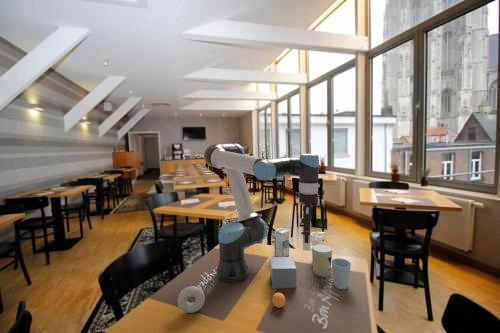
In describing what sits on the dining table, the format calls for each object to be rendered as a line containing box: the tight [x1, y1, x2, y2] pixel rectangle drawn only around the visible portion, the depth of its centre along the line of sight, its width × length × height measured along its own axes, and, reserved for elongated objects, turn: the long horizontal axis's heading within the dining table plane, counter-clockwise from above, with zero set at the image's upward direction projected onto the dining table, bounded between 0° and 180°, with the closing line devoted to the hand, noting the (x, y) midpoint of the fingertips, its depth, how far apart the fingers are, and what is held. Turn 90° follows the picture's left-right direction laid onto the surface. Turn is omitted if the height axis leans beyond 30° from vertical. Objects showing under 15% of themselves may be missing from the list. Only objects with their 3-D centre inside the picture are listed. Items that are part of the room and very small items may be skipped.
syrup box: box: [274, 227, 290, 257], centre depth 132 cm, size 6×6×14 cm
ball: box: [271, 292, 286, 308], centre depth 92 cm, size 5×5×5 cm
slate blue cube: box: [270, 256, 297, 289], centre depth 108 cm, size 10×10×9 cm
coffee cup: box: [311, 243, 333, 277], centre depth 115 cm, size 9×9×12 cm
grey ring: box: [176, 285, 206, 314], centre depth 90 cm, size 10×4×10 cm, turn 100°
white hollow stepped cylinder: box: [310, 231, 326, 251], centre depth 127 cm, size 7×7×15 cm
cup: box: [331, 257, 352, 290], centre depth 104 cm, size 8×8×10 cm
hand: (307, 242), depth 100 cm, fingers open, 13 cm apart
